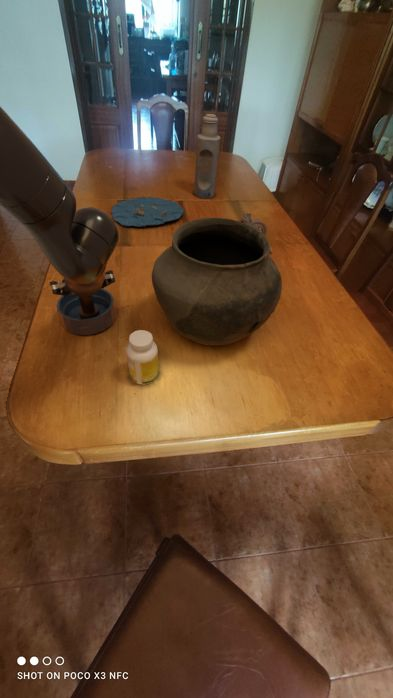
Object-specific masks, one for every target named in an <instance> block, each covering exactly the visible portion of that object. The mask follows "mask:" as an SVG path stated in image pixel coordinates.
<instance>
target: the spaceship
mask: <svg viewBox="0 0 393 698" xmlns="http://www.w3.org/2000/svg"><path fill="white" fill-rule="evenodd" d="M252 215H253V214H252V213H251V212H250V213H249V212H247V213H243V214H242V215H241V219H242V223H244V224H247V225H250V226H252V227H254V228H256V229H258V230H259V231H260V232H261V233H263V234H264V235H265V236H266V235H267V233H268V227H267V224H265V222H264V221H261V220H260V219H259V218H254V219H252V217H253V216H252ZM266 237H267V236H266ZM269 246H270V252H269V254H268V255H273V249H272V246H271V245H270V244H269Z"/></svg>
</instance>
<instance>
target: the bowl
mask: <svg viewBox="0 0 393 698" xmlns="http://www.w3.org/2000/svg"><path fill="white" fill-rule="evenodd" d="M92 298H93V303H94V304H95V305H97V306H98V308H99V313H100V315H98V316H96V317H92V318H88V319H80V315H79V308H80V307H81V304H80V300H79V296H75V295H72V294H71V293H69V295H68V296H62V295H60V297H59V298H58V300H57V302H56V310H57V313H58V316H59V319H60V323H61V325H62V327H63V328H64V329H65V330H66V331H68V332H70V333H72V334H74V335H78V336H92V335H93V336H94V335H97V334H100V333H102V332H105V331H106V330H107V329H108V328H110V327H111V326H112V325H114V322H115V320H116V319H117V310H116V303H115V298H114V296H113V294H112V293H111V292H110V291H109V290H107V289H105V288H101V289H100V290H99V291H98V292H97V293H96V294H94V295H92Z"/></svg>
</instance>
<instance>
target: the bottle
mask: <svg viewBox="0 0 393 698" xmlns="http://www.w3.org/2000/svg"><path fill="white" fill-rule="evenodd" d="M218 124H219V118H218V117H217V115H216V114H212V113H206V114H205V116H203V118H202V127H201V133H199V134H197V136H196V151H195V152H196V155H195V171H194V172H195V173H194V189H193V193H194V196H196V197H198V198H201V199H211V198H213V197H215V195H216V184H217V175H218V166H219V157H220V149H221V147H220V146H221V136H219V135H218Z"/></svg>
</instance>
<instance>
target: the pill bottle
mask: <svg viewBox="0 0 393 698" xmlns="http://www.w3.org/2000/svg"><path fill="white" fill-rule="evenodd" d="M125 353H126V360H127V361H126V362H127V367H128V373H129V377H130V379H131V380H132V381H133V382H134V383H136V384H138V385H149V384H152V383H153V382H155V381H156V380H157V378H158V376H159V373H160V371H159V369H160V368H159V350H158V345H157V343H156V342H155V341H154V339H153V334H152V333H151V332H150V331H148V330H145V329H138V330H135V331H132V333H130V334H129V337H128V344H127V345H126V349H125Z"/></svg>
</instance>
